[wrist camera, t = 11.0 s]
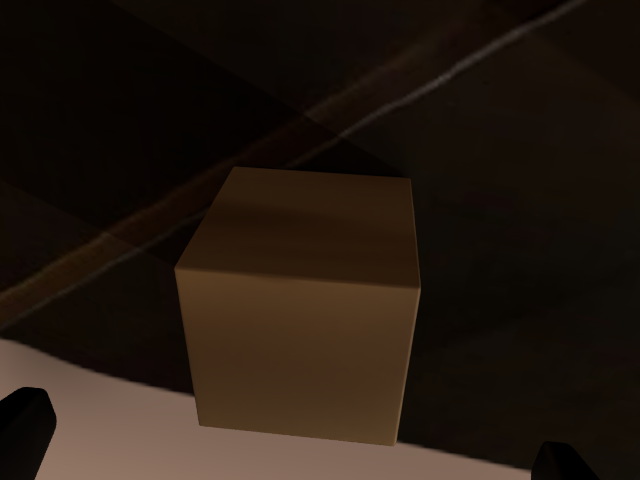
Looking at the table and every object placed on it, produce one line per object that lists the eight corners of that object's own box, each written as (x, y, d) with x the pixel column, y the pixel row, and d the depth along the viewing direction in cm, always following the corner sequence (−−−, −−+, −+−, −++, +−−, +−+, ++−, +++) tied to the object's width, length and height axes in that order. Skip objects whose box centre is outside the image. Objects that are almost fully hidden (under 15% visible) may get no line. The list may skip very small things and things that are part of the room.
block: (392, 315, 15) (395, 447, 12) (243, 302, 16) (198, 426, 12) (410, 177, 13) (421, 288, 9) (233, 165, 13) (172, 267, 9)
